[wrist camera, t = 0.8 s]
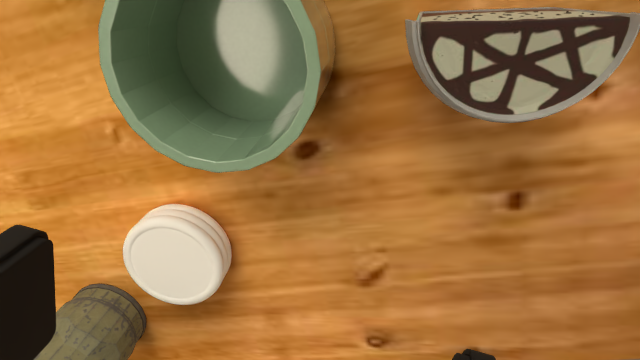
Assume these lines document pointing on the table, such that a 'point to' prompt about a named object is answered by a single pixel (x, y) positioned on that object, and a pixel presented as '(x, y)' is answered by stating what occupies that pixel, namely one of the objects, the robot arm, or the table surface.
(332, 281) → the table surface
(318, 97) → the pot
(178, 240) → the coaster
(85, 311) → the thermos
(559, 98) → the food container
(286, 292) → the table surface
